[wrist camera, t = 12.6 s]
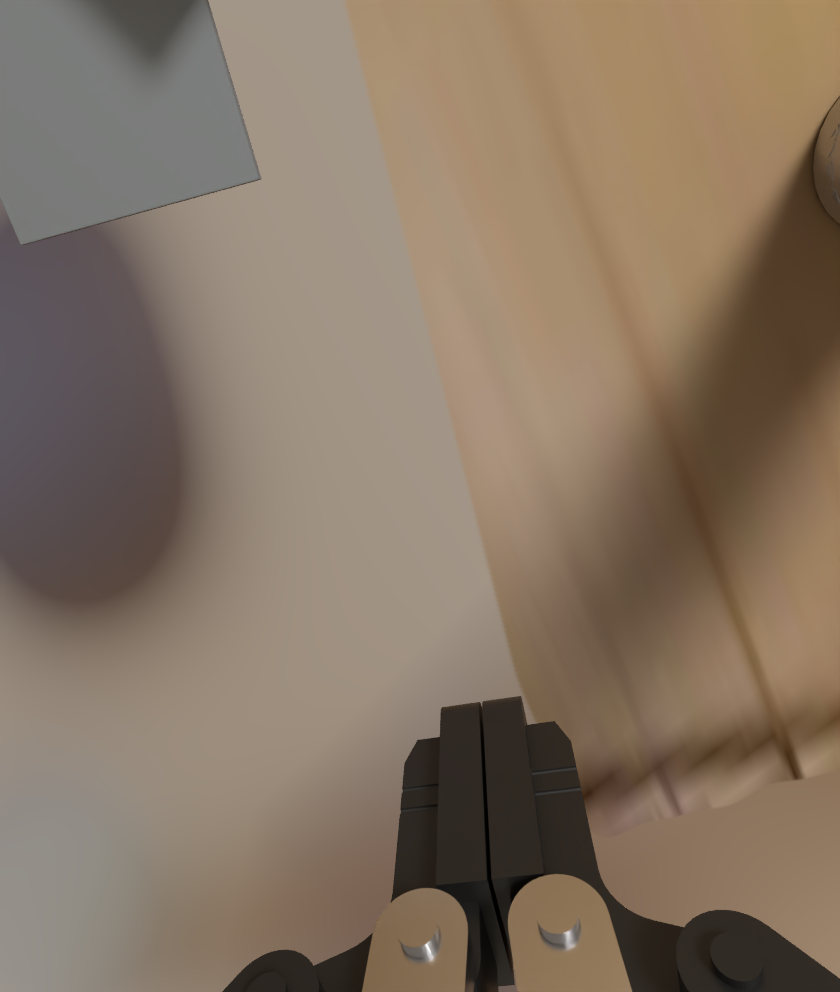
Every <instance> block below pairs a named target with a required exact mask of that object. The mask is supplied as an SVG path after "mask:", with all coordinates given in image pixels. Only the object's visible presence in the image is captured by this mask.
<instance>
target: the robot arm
mask: <svg viewBox="0 0 840 992" xmlns="http://www.w3.org/2000/svg"><path fill="white" fill-rule="evenodd" d="M813 174H814V183H815V188H816V191H817V194H818V196H819V199H820V202H821V203H822V205H823V206H824V208H825V209H826V211H827V212H828V214H829V215H830V216H831V217H832V218H833V219H835V220H836V221H837V222H838V223H839V224H840V97H839V99H838V100H837V102H836V103H835V104H834V106H833V107H832V109H831V110H830V111H829V113H828V116H827V118H826V120H825V122H824V124H823V126H822V128H821V130H820V133H819V136H818V140H817V143H816V147H815V152H814V162H813ZM482 708H483V709H482ZM440 722H441V723H440V737H437V738H430V739H423V740H417V742H416V744H415V746H414V748H413V749H412V751H411V753H410V755H409V756H408V758H407V760H406V762H405V766H404V776H403V777H404V778H403V787H402V788H403V793H402V798H401V814H400V820H399V831H398V842H397V853H396V863H395V875H394V885H393V894H392V900H391V903H390V904H389V905H388V906H387V907H386V908H385V910H384V911H383V912H382V914H381V915H380V917H379V918H378V920H377V923H376V925H375V927H374V931H373V933H372V934H371V935H370V936H369V937H368V938H367V939H365V940H364V941H363V942H361V943H360V944H359V945H357V946H355V947H353V948H351V949H350V950H347V951H346V952H343V953H341V954H339V955H337V956H334V957H332V958H330V959H328V960H326V961H323V962H321V963H319V964H317V965H315V966H313V965H312V963H311V962H310V960H309V959H308V958H307V957H305V956H304V955H302V954H301V953H298V952H296V951H292V950H278V951H274V952H270V953H267V954H265V955H263V956H261V957H259V958H257V959H256V960H254V961H253V962H252V963H250V964H249V965H248V966H246V967H245V968H244V969H243V970H242V971H241V972H240V973H239V975H237V976H236V978H235V979H234V980H233V981H232V982H231V983H230V984H229V985H228V986H227V987H226V988H225V989H224V991H223V992H498V986H507V985H514V971H515V977H516V984H517V991H518V992H840V979H839V978H838V977H837V976H835V975H834V974H833V973H831V972H830V971H829V970H827V969H826V968H825V967H823V966H822V965H820V964H819V963H818V962H816V961H815V960H814V959H812V958H811V957H809V956H808V955H807V954H806V953H804V952H803V951H801V950H800V949H799V948H797V947H796V946H795V945H793V944H792V943H791V942H789V941H788V940H786V939H785V938H784V937H782V936H781V935H780V934H778V933H777V932H776V931H774V930H773V929H771V928H770V927H769V926H767V925H766V924H764V923H763V922H761V921H759V920H757V919H756V918H753V917H751V916H749V915H746V914H743V913H740V912H736V911H730V910H714V911H708V912H706V913H703V914H700V915H698V916H696V917H695V918H693V919H692V920H691V921H690V922H689V923H688V924H686V926H685V927H680V926H675V925H671V924H667V923H663V922H658V921H654V920H650V919H647V918H644V917H642V916H639V915H637V914H635V913H633V912H631V911H630V910H628V909H627V908H625V907H624V906H623V905H621V904H620V903H619V902H618V901H617V900H616V899H615V898H614V897H613V896H612V895H611V894H610V893H609V891H608V890H607V888H606V887H605V885H604V883H603V881H602V879H601V877H600V873H599V870H598V866H597V861H596V857H595V852H594V847H593V843H592V838H591V833H590V828H589V824H588V819H587V815H586V810H585V805H584V801H583V796H582V792H581V787H580V782H579V777H578V773H577V768H576V763H575V759H574V754H573V749H572V745H571V741H570V740H569V738H568V737H567V736H566V735H565V733H564V732H563V731H562V730H561V729H560V727H559V726H558V725H557V724H556V723H555V721H553V722H546V723H538V724H531V725H527V722H526V717H525V712H524V707H523V702H522V698H521V696H518V697H511V698H504V699H497V700H490V701H484V702H483V703H482V706H481V703H480V702H477V703H470V704H463V705H456V706H449V707H442V709H441V721H440ZM513 964H514V971H513Z"/></svg>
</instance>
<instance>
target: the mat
mask: <svg viewBox="0 0 840 992" xmlns="http://www.w3.org/2000/svg"><path fill="white" fill-rule="evenodd" d="M260 179H261V176H260V173H259V170H258V166H257V163H256V160H255V156H254V153H253V149H252V146H251V143H250V139H249V136H248V133H247V129H246V126H245V123H244V119H243V116H242V113H241V110H240V106H239V103H238V99H237V96H236V92H235V89H234V86H233V82H232V79H231V76H230V72H229V69H228V66H227V62H226V59H225V56H224V52H223V49H222V46H221V42H220V39H219V36H218V32H217V29H216V26H215V22H214V19H213V16H212V12H211V9H210V6H209V2H208V0H0V199H1V201H2V203H3V206H4V208H5V210H6V213H7V214H8V217H9V219H10V222H11V224H12V226H13V228H14V231H15V233H16V235H17V237H18V240H19V242H20V244H21V245H24V244H29V243H33V242H36V241H40V240H44V239H47V238H51V237H54V236H58V235H62V234H65V233H69V232H73V231H76V230H80V229H83V228H87V227H90V226H94V225H98V224H101V223H105V222H109V221H112V220H116V219H120V218H123V217H127V216H130V215H134V214H138V213H141V212H145V211H149V210H152V209H156V208H159V207H163V206H166V205H170V204H174V203H178V202H181V201H185V200H188V199H192V198H196V197H199V196H203V195H206V194H210V193H214V192H217V191H221V190H225V189H228V188H232V187H235V186H239V185H243V184H246V183H250V182H253V181H257V180H260Z"/></svg>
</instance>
